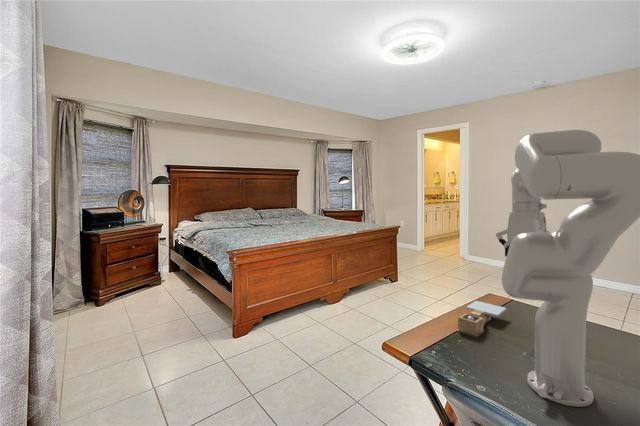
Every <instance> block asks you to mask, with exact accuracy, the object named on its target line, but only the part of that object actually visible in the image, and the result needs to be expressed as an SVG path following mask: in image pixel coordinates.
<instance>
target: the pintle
mask: <svg viewBox="0 0 640 426" xmlns="http://www.w3.org/2000/svg"><path fill="white" fill-rule="evenodd" d="M467 319H468V320H471V321H474V317H473V316H467ZM455 331H456V332H459V333H462V334H464V335H468V336H470V337H473V338H478V337H479V336H481V335H482V334H483V333H485V332H486V329H483V331H482V332H481V333H479V334H478V335H477V336H475V335H472V334H469V333H466V332H463V331H460V330H458V328H457V329H456V330H455Z"/></svg>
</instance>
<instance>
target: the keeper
mask: <svg viewBox="0 0 640 426" xmlns="http://www.w3.org/2000/svg"><path fill="white" fill-rule="evenodd" d="M465 307H466V309H467V310H470V311H473V310H475V309H478V310H481V311H485V314H488V315H491V317H492V316H493V317H497V318H498V317H499V316H500V315H502V314H503V313H504V312H506V310H507V307H504V306H499V305H495V304H491V303H487V302H482V301H479V300H475V301H473V302H471V303H470V304H468V305H467V306H465Z"/></svg>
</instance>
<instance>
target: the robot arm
mask: <svg viewBox="0 0 640 426" xmlns="http://www.w3.org/2000/svg"><path fill="white" fill-rule="evenodd" d="M514 162H515V167H516V169H515V170H514V171H513V173H512V174H511V179H510V181H511V187H512V188H511V189H512V190H511V195H512V199H511V200H512V201H511V202H512V203H511V204H512V205H511V206H512V209H511V210H512V211H509V212H510V213H509V217H508V219H507V220H508V221H507V228H506V229H505V230H502V231H499V232H497V233H496V234H495V236H496V239H498V242H499V243H500V244H501V245H502V246H503V247H504V256H505V261H504V264H503V269H502V272H501V273H502V274H501V285H502V288H503V290H504V291H505V292H504V293H506V295H508V296H510V297H511V298H514V299H519V300H527V301H528V300H529V301H539V302H541V301H543V303H542V304H541V305H540V306H539V307H538V308H537V311H536V313H535V317H534V318H535V319H534V370H531V371H529V372H528V373H527V377H526V381H527V384H528V385H529V387H530V388H531V389H532V390H533V391H534V392H536V393H537V394H538V395H539V397H541V398H544V399H548V400H550V401H552V402H555V403H557V404H561V405H563V406H564V405H565V406H569V407H578V408H581V407H588V406H590V405H592V404H593V403H594V398H595V397H594V393H593V391H592V390H591V388H590V387H589V386H588V385H586V347H587V346H586V343H587V342H586V340H587V339H586V336H587V319H588V318H587V317H588V308H589V304H590V300H591V297H592V293H593V289H594V282H593V276H592V274H593V273H594V272H595V271H596V270H597V269H598V268H599V267H600V265H601V264H602V262H604V260H605V258H606V257H607V255H608V254H609V252H610V251H611V250H612V248H613V247H614V245H615V243H616V241H617V240H618V239H619V238H620V236H621V235H622V234H624V233H625V231H627V230H628V229H629V228H630V227H631V226H632V225H633V224H634V223H635V222H637V220H639V218H640V154H639V153H635V152H629V151H628V152H627V151H602V141H601V139H600V138H599V136H598V135H596V134H595V133H593V132H591V131H590V130H589V131H588V130H585V129H567V130H566V129H565V130H557V131H546V132H537V133H536V132H535V133H531V134H530V133H529V134H527V135H525V136H524V137H523V138H522V139H521V140H520V141H519V142H518V143H517V146H516V149H515V151H514ZM578 199H579V200H583V199H586V200H587V199H589V201H587V202H586V203H583V204H582V205H580V206H578V207H576V208H575V209H574V210H572V211H570V212H569V213H568V214H567V215H566V216H565V218H563V220H562V221H561V223H560V226H559V228H558V230H557V231H556V230H555V231H549V230H548V229H547V219H546V215H545V212H544V211H542V210H543V209H547V204H546V203H545V204H544V203H542V202H541V201H542V200H548V201H549V200H578ZM505 235H506V239H507V241H506V239H505V238H504V237H503V236H505Z"/></svg>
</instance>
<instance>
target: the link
mask: <svg viewBox="0 0 640 426" xmlns="http://www.w3.org/2000/svg"><path fill="white" fill-rule="evenodd" d="M467 316H473V317H474V321H471V320H468V319H467ZM457 319H458V320H457V321H458V324H457V327H458V328H457V329H458V330H460V331H463V332H466V333H469V334H472V335H475V336H477V335H478V334H479V333H481V332H482V331H483V330H484V326H485V325H486V324H487V323H488V322H489V321H491V320H492V315H488V314H485V311H481V310H478V309H475V310H471V311H470V312H469V313H467V312H465V313H464V314H462V315H460V316H459V317H458V318H457Z"/></svg>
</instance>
